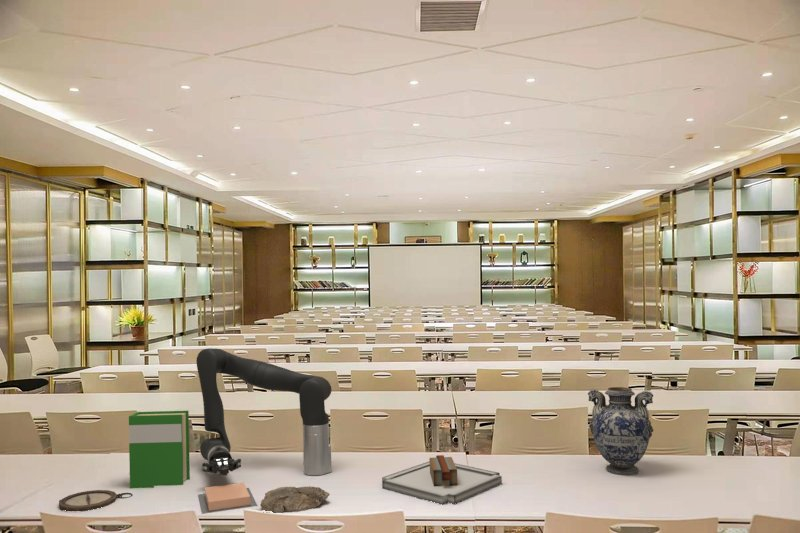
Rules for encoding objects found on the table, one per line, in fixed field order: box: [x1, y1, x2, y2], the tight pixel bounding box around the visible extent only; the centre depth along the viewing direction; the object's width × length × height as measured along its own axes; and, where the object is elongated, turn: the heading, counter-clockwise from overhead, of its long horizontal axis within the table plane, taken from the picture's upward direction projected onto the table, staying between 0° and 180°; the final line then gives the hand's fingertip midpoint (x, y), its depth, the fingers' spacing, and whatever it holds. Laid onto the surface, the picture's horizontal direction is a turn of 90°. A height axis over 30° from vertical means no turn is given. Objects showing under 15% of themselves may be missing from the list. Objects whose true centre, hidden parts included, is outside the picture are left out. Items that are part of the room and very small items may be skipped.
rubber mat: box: [197, 487, 258, 515], centre depth 201 cm, size 16×19×1 cm
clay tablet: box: [260, 485, 331, 513], centre depth 198 cm, size 14×5×20 cm
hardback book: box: [128, 410, 191, 489], centre depth 222 cm, size 18×7×24 cm, turn 90°
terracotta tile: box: [204, 482, 250, 511], centre depth 200 cm, size 12×3×15 cm
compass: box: [58, 489, 134, 512], centre depth 204 cm, size 20×16×2 cm
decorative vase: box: [587, 386, 654, 476], centre depth 223 cm, size 21×19×28 cm
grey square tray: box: [381, 454, 503, 506], centre depth 213 cm, size 30×30×8 cm
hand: (224, 472), depth 206 cm, fingers closed
